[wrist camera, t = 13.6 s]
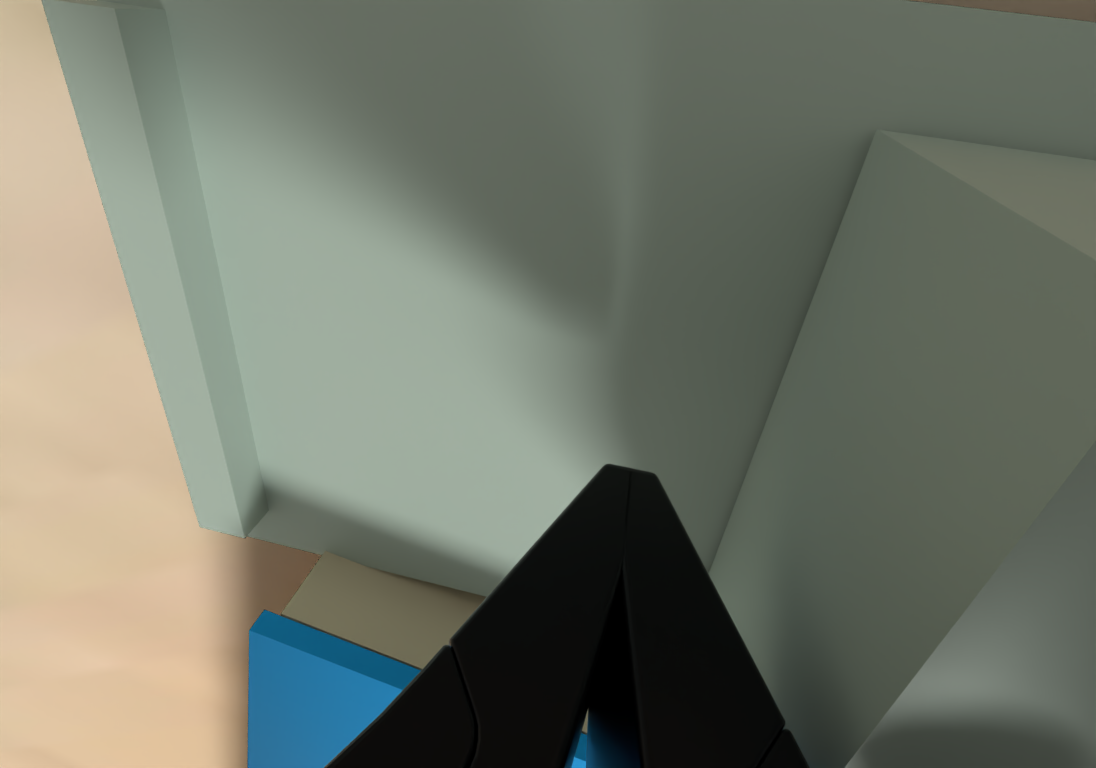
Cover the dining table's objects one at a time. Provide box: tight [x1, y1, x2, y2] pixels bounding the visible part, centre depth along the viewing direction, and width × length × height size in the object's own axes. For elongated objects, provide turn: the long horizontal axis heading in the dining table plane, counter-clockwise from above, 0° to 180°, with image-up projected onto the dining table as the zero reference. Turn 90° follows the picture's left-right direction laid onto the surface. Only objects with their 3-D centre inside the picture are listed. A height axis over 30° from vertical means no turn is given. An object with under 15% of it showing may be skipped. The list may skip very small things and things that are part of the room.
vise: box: [42, 0, 1096, 597], centre depth 8 cm, size 20×11×6 cm, turn 84°
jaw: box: [709, 129, 1096, 768], centre depth 6 cm, size 3×9×6 cm, turn 174°
